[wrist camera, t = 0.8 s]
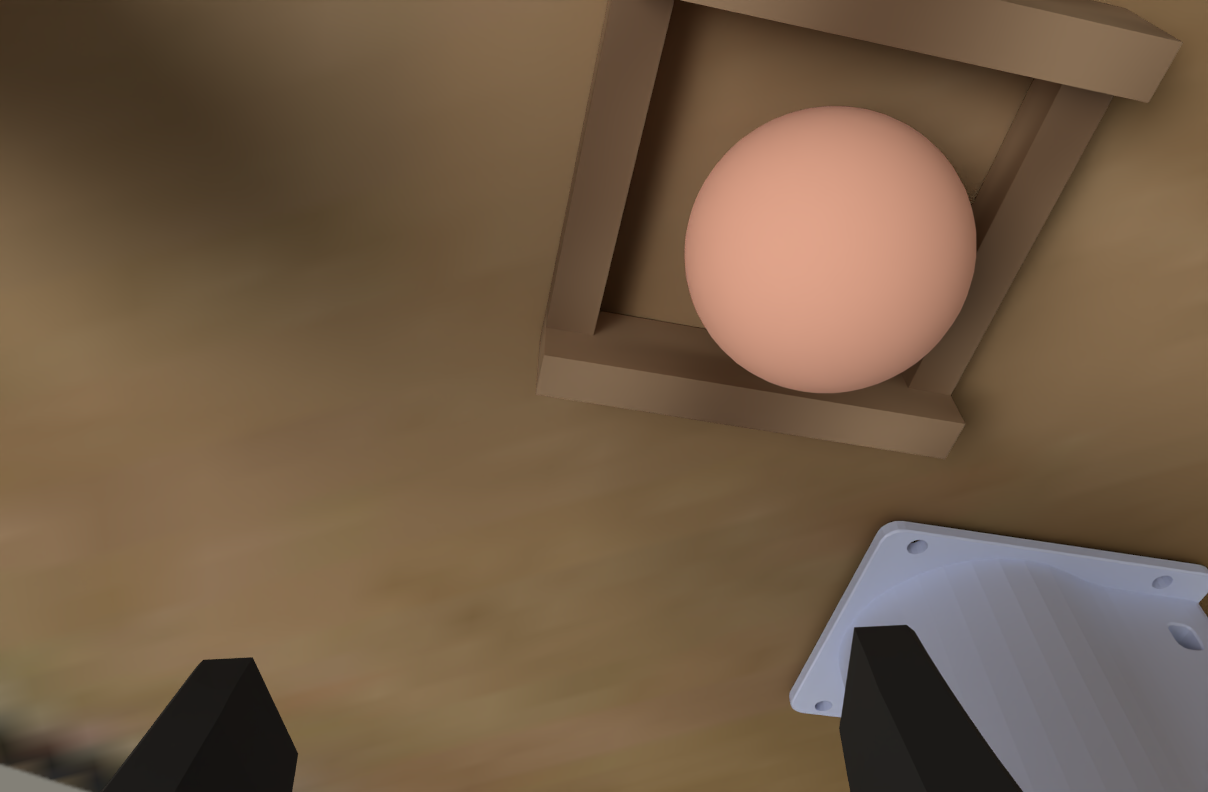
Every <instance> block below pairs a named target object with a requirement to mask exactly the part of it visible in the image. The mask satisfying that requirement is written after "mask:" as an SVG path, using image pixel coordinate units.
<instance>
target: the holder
mask: <svg viewBox="0 0 1208 792" xmlns="http://www.w3.org/2000/svg"><path fill="white" fill-rule="evenodd" d="M682 1H687V2H691V3H696V4H700V5H705V6H709V7H714V8H718V9H723V10H728V11H732V12H737V13H741V14H746V15H750V16H755V17H759V18H764V19H769V20H773V21H778V22H782V23H787V24H791V25H796V26H800V27H805V28H810V29H814V30H819V31H823V32H828V33H832V34H837V35H841V36H846V37H850V38H855V39H860V40H864V41H869V42H873V43H878V44H882V45H887V46H891V47H896V48H901V49H905V50H910V51H914V52H919V53H923V54H928V55H932V56H937V57H941V58H946V59H951V60H955V61H960V62H964V63H969V64H973V65H978V66H982V67H987V68H992V69H996V70H1001V71H1005V72H1010V73H1014V74H1019V75H1023V76H1028V77H1032V78H1034V80H1033V82H1032V84H1031V86H1030V88H1029V90H1028V92H1027V94H1026V96H1025V98H1024V100H1023V102H1022V104H1021V106H1020V109H1019V111H1018V113H1017V115H1016V117H1015V119H1014V121H1013V123H1012V125H1011V127H1010V129H1009V131H1008V133H1007V135H1006V137H1005V139H1004V141H1003V143H1002V145H1001V148H1000V150H999V152H998V154H997V156H996V158H995V160H994V162H993V164H992V166H991V168H990V170H989V172H988V174H987V176H986V178H985V180H984V182H983V184H982V187H981V189H980V191H979V193H978V195H977V197H976V199H975V201H974V203H973V205H972V211H973V215H974V221H975V227H976V262H975V269H974V274H973V278H972V281H971V285H970V288H969V291H968V295H967V297H966V300H965V302H964V304H963V307H962V309H961V311H960V313H959V314H958V316H957V318H956V319H955V321H954V323H953V324H952V326H951V327H950V328H949V330H948V331H947V332H946V334H945V335H944V336H943V338H942V339H941V340H940V341H939V343H938V344H937V345H936V346H935V347H934V348H933V349H932V350H931V351H930V352H929V353H928V354H927V355H925V356H924V357H923V358H922V359H921V360H919V361H918V362H917V363H916V364H914V365H913V366H911V367H910V368H908V369H907V370H905V371H904V372H902V373H900V374H898V375H896V376H894V377H892V378H891V379H888V380H886V381H883V382H881V383H879V384H876V385H873V386H870V387H866V388H863V389H859V390H854V391H849V392H841V393H811V392H803V391H798V390H793V389H789V388H784V387H781V386H778V385H775V384H773V383H770V382H768V381H766V380H764V379H762V378H760V377H758V376H756V375H754V374H752V373H750V372H749V371H747V370H746V369H744V368H743V367H741V366H740V365H739V364H737V363H736V362H735V361H734V360H733V359H732V358H731V357H729V356H728V355H727V354H726V353H725V352H724V351H723V350H722V349H721V348H720V347H719V346H718V344H717V343H716V342H715V341H714V340H713V338H712V337H711V336H710V334H709V333H708V331H707V329H702V328H696V327H690V326H685V325H679V324H673V323H667V322H661V321H656V320H650V319H644V318H638V317H632V316H626V315H621V314H615V313H609V312H603V311H599V310H600V306H601V302H602V298H603V293H604V289H605V285H606V281H607V277H608V273H609V269H610V264H611V260H612V256H613V252H614V248H615V244H616V240H617V235H618V231H619V227H620V223H621V219H622V215H623V211H624V206H625V202H626V198H627V194H628V190H629V186H630V182H631V177H632V173H633V169H634V165H635V161H636V157H637V153H638V149H639V144H640V140H641V136H642V132H643V128H644V124H645V120H646V115H647V111H648V107H649V103H650V99H651V95H652V91H653V86H654V82H655V78H656V74H657V70H658V66H659V62H660V57H661V53H662V49H663V45H664V41H665V37H666V33H667V28H668V24H669V20H670V16H671V12H672V8H673V4H674V0H608V4H607V9H606V14H605V19H604V24H603V29H602V34H601V39H600V44H599V49H598V54H597V59H596V64H595V69H594V74H593V79H592V84H591V89H590V94H589V99H588V104H587V109H586V114H585V119H584V123H583V128H582V133H581V138H580V143H579V148H578V153H577V158H576V163H575V168H574V173H573V178H572V183H571V188H570V193H569V198H568V203H567V208H566V213H565V218H564V223H563V228H562V233H561V238H560V243H559V248H558V253H557V258H556V263H555V268H554V273H553V278H552V283H551V288H550V293H549V298H548V303H547V308H546V313H545V318H544V323H543V328H542V333H541V338H540V347H539V360H538V373H537V386H536V395H542V396H548V397H555V398H561V399H567V400H574V401H580V402H586V403H593V404H599V405H605V406H612V407H618V408H624V409H631V410H637V411H643V412H650V413H656V414H662V415H669V416H675V417H681V418H688V419H694V420H700V421H707V422H713V423H719V424H726V425H732V426H738V427H745V428H751V429H757V430H764V431H770V432H776V433H783V434H789V435H795V436H802V437H808V438H814V439H821V440H827V441H833V442H840V443H846V444H852V445H859V446H865V447H871V448H878V449H884V450H890V451H897V452H903V453H909V454H916V455H922V456H928V457H935V458H941V459H946V457H947V456H948V454H949V452H950V450H951V449H952V447H953V445H954V443H955V442H956V440H957V438H958V436H959V435H960V433H961V431H962V429H963V428H964V426H965V422H964V420H963V418H962V416H961V414H960V412H959V410H958V408H957V407H956V405H955V403H954V401H953V399H952V397H951V394H952V392H953V390H954V389H955V387H956V385H957V383H958V381H959V379H960V378H961V376H962V374H963V372H964V370H965V368H966V367H967V365H968V363H969V361H970V359H971V357H972V356H973V354H974V352H975V350H976V348H977V346H978V345H979V343H980V341H981V339H982V337H983V335H984V334H985V332H986V330H987V328H988V326H989V324H990V323H991V321H992V319H993V317H994V315H995V313H996V312H997V310H998V308H999V306H1000V304H1001V302H1002V301H1003V299H1004V297H1005V295H1006V293H1007V291H1008V290H1009V288H1010V286H1011V284H1012V282H1013V280H1014V279H1015V277H1016V275H1017V273H1018V271H1019V269H1020V267H1021V266H1022V264H1023V262H1024V260H1025V258H1026V256H1027V255H1028V253H1029V251H1030V249H1031V247H1032V245H1033V244H1034V242H1035V240H1036V238H1037V236H1038V234H1039V233H1040V231H1041V229H1042V227H1043V225H1044V223H1045V222H1046V220H1047V218H1048V216H1049V214H1050V212H1051V211H1052V209H1053V207H1054V205H1055V203H1056V201H1057V200H1058V198H1059V196H1060V194H1061V192H1062V190H1063V189H1064V187H1065V185H1066V183H1067V181H1068V179H1069V178H1070V176H1071V174H1072V172H1073V170H1074V168H1075V167H1076V165H1077V163H1078V161H1079V159H1080V157H1081V156H1082V154H1083V152H1084V150H1085V148H1086V146H1087V145H1088V143H1089V141H1090V139H1091V137H1092V135H1093V134H1094V132H1095V130H1096V128H1097V126H1098V124H1099V123H1100V121H1101V119H1102V117H1103V115H1104V113H1105V112H1106V110H1107V108H1108V106H1109V104H1110V102H1111V100H1112V99H1113V97H1114V96H1119V97H1123V98H1128V99H1133V100H1137V101H1142V102H1146V103H1149V101H1150V100H1151V98H1152V96H1153V94H1154V93H1155V91H1156V89H1157V87H1158V86H1159V84H1160V82H1161V80H1162V79H1163V77H1164V75H1165V73H1166V72H1167V70H1168V68H1169V66H1170V65H1171V63H1172V61H1173V59H1174V58H1175V56H1176V54H1177V52H1178V50H1179V49H1180V47H1181V45H1182V43H1183V42H1181V41H1180V40H1178V39H1176V38H1175V37H1173V36H1171V35H1170V34H1168V33H1166V32H1165V31H1163V30H1161V29H1159V28H1158V27H1156V26H1154V25H1153V24H1151V23H1149V22H1148V21H1146V20H1144V19H1143V18H1141V17H1139V16H1138V15H1136V14H1134V13H1133V12H1131V11H1129V10H1128V9H1126V8H1122V7H1118V6H1113V5H1109V4H1105V3H1101V2H1096V1H1092V0H682Z"/></svg>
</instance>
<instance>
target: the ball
mask: <svg viewBox="0 0 1208 792" xmlns="http://www.w3.org/2000/svg"><path fill="white" fill-rule="evenodd" d="M975 262H976V227H975V221H974V215H973V211H972V207H971V204H970V201H969V198H968V195H967V192H966V189H965V187H964V186H963V184H962V182H961V180H960V178H959V177H958V175H957V173H956V171H955V169H954V168H953V166H952V165H951V163H950V162H949V161H948V160H947V158H946V157H945V156H944V155H943V153H942V152H941V151H940V150H939V149H938V148H937V147H936V146H935V145H934V144H932V143H931V142H930V141H929V140H928V139H927V138H926V137H925V136H924V135H923V134H921V133H919V132H918V131H916V130H915V129H913V128H912V127H910V126H909V125H907V124H905V123H903V122H901V121H899V120H897V119H894V118H892V117H890V116H888V115H886V114H883V113H879V112H876V111H872V110H869V109H863V108H856V107H848V106H823V107H815V108H807V109H803V110H799V111H795V112H791V113H788V114H786V115H783V116H781V117H778V118H775V119H773V120H771V121H769V122H767V123H765V124H763V125H762V126H760V127H758V128H756V129H755V130H753V131H752V132H750V133H749V134H747V135H746V136H745V137H743V138H742V139H741V140H740V141H738V142H737V143H736V144H735V145H734V146H733V147H732V148H730V149H729V150H728V152H727V153H726V154H725V155H724V156H723V157H722V158H721V159H720V160H719V162H718V163H717V164H716V166H715V167H714V168H713V170H712V171H711V173H710V174H709V176H708V177H707V178H706V180H705V182H704V183H703V185H702V187H701V189H700V191H699V193H698V195H697V197H696V200H695V203H694V205H693V208H692V211H691V214H690V218H689V222H688V227H687V232H686V237H685V270H686V279H687V283H688V287H689V291H690V295H691V298H692V301H693V304H694V306H695V309H696V311H697V314H698V316H699V317H700V319H701V321H702V323H703V324H704V326H705V328H706V329H707V331H708V333H709V334H710V336H711V337H712V338H713V340H714V341H715V342H716V343H717V344H718V346H719V347H720V348H721V349H722V350H723V351H724V352H725V353H726V354H727V355H728V356H729V357H731V358H732V359H733V360H734V361H735V362H736V363H737V364H739V365H740V366H741V367H743V368H744V369H746V370H747V371H749V372H750V373H752V374H754V375H756V376H758V377H760V378H762V379H764V380H766V381H768V382H770V383H773V384H775V385H778V386H781V387H784V388H789V389H793V390H798V391H803V392H811V393H841V392H849V391H854V390H859V389H863V388H866V387H870V386H873V385H876V384H879V383H881V382H883V381H886V380H888V379H891V378H892V377H894V376H896V375H898V374H900V373H902V372H904V371H905V370H907V369H908V368H910V367H911V366H913V365H914V364H916V363H917V362H918V361H919V360H921V359H922V358H923V357H924V356H925V355H927V354H928V353H929V352H930V351H931V350H932V349H933V348H934V347H935V346H936V345H937V344H938V343H939V341H940V340H941V339H942V338H943V336H944V335H945V334H946V332H947V331H948V330H949V328H950V327H951V326H952V324H953V323H954V321H955V319H956V318H957V316H958V314H959V313H960V311H961V309H962V307H963V304H964V302H965V300H966V297H967V295H968V291H969V288H970V285H971V281H972V278H973V274H974V269H975Z"/></svg>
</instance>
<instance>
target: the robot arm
mask: <svg viewBox="0 0 1208 792" xmlns="http://www.w3.org/2000/svg"><path fill="white" fill-rule="evenodd" d="M915 540H919V541H917V542H915V543H911V542H913V541H915ZM1207 593H1208V569H1207V568H1206V567H1205V566H1202V565H1198V564H1191V563H1184V562H1178V561H1171V560H1164V559H1157V558H1150V557H1144V556H1137V555H1130V554H1123V553H1116V552H1110V551H1103V550H1096V549H1089V548H1083V547H1076V546H1069V545H1062V544H1055V543H1049V542H1042V541H1035V540H1028V539H1022V538H1015V537H1008V536H1001V535H994V534H988V533H981V532H974V531H967V530H960V529H954V528H947V527H940V526H933V525H927V524H920V523H913V522H906V521H893V522H890V523H887V524H886V525H884V526H882V527H881V528H880V530H879V531H878V532H877V534H876V536H875V537H874V539H873V541H872V543H871V545H870V547H869V548H868V550H867V552H866V554H865V556H864V558H863V559H862V561H861V563H860V565H859V567H858V569H857V570H856V572H855V574H854V576H853V578H852V580H851V581H850V583H849V585H848V587H847V589H846V591H845V592H844V594H843V596H842V598H841V600H840V602H839V603H838V605H837V607H836V609H835V611H834V613H833V614H832V616H831V618H830V620H829V622H828V623H827V625H826V627H825V629H824V631H823V633H822V634H821V636H820V638H819V640H818V642H817V644H816V645H815V647H814V649H813V651H812V653H811V655H810V656H809V658H808V660H807V662H806V664H805V666H804V667H803V669H802V671H801V673H800V675H799V677H798V678H797V680H796V682H795V684H794V686H793V688H792V689H791V691H790V694H789V698H790V703H791V706H792V708H793V709H794V710H796V711H798V712H802V713H809V714H817V715H826V716H834V717H841V721H840V727H839V729H840V735H841V741H842V747H843V753H844V758H845V764H846V770H847V776H848V781H849V786H850V792H1208V617H1207V616H1206V614H1205V613H1204V611H1203V610H1202V608H1201V607H1200V605H1199V604H1198V603H1199V602H1200V601H1201V600H1202V599H1203V597H1204V596H1205V595H1206V594H1207ZM297 757H298V753H297V750H296V748H295V746H294V744H293V742H292V740H291V738H290V736H289V734H288V731H287V729H286V727H285V725H284V723H283V721H282V719H281V717H280V714H279V712H278V710H277V708H276V706H275V704H274V702H273V700H272V698H271V695H270V693H269V691H268V689H267V687H266V685H265V683H264V681H263V678H262V676H261V674H260V672H259V670H258V668H257V666H256V664H255V662H254V659H253V657H252V658H232V659H213V660H203V661H202V662H201V663H200V664H199V665H198V666H197V667H196V668H195V670H194V671H193V672H192V674H191V675H190V676H189V678H188V679H187V680H186V681H185V683H184V684H183V685H182V687H181V688H180V689H179V691H178V692H177V693H176V695H175V696H174V697H173V699H172V700H171V701H170V703H169V704H168V705H167V706H166V708H165V709H164V710H163V712H162V713H161V714H160V716H159V717H158V718H157V720H156V721H155V722H154V724H153V725H152V726H151V728H150V729H149V730H148V732H147V733H146V734H145V736H144V737H143V738H142V739H141V741H140V742H139V743H138V745H137V746H136V747H135V749H134V750H133V751H132V752H131V754H130V755H129V756H128V758H127V759H126V760H125V762H124V763H123V764H122V765H121V767H120V768H119V769H118V771H117V772H116V773H115V775H114V776H113V777H112V778H111V780H110V781H109V782H108V783H107V785H106V786H105V787H104V788H103V790H102V791H101V792H292V788H293V782H294V776H295V770H296V763H297Z"/></svg>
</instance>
